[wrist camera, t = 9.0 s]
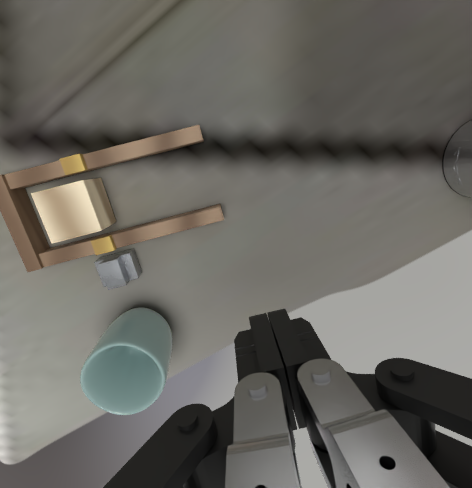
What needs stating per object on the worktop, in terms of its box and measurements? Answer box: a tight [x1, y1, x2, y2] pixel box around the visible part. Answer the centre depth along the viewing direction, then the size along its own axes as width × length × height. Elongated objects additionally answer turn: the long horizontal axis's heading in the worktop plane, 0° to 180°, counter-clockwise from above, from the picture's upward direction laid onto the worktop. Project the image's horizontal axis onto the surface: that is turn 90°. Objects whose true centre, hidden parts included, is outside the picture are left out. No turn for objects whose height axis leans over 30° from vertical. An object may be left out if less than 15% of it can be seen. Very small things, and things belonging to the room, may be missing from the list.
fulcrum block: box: [94, 249, 142, 290], centre depth 35 cm, size 4×3×4 cm
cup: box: [80, 307, 173, 415], centre depth 34 cm, size 8×8×10 cm
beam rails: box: [0, 125, 224, 272], centre depth 34 cm, size 22×10×3 cm, turn 104°
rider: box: [31, 178, 116, 243], centre depth 33 cm, size 5×5×5 cm
